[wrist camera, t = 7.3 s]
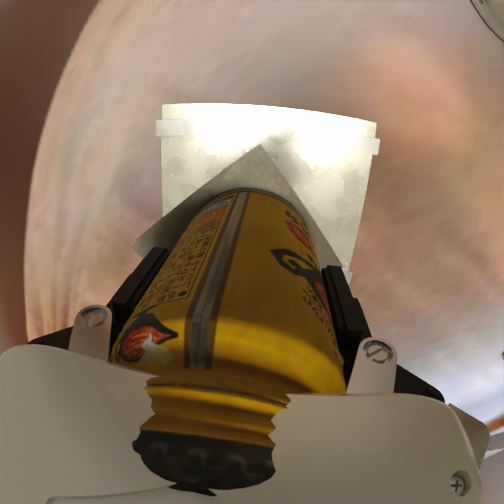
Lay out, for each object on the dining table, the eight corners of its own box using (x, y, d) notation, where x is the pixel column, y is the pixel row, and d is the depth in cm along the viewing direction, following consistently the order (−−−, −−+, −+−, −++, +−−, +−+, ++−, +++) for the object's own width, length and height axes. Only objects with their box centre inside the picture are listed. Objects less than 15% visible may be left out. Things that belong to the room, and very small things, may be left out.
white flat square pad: (166, 104, 24) (156, 104, 22) (373, 122, 24) (382, 123, 21) (169, 266, 33) (162, 277, 30) (342, 283, 32) (346, 295, 30)
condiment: (342, 264, 14) (413, 507, 4) (216, 332, 17) (171, 527, 6) (260, 142, 12) (155, 382, 1) (132, 242, 15) (-10, 427, 4)
